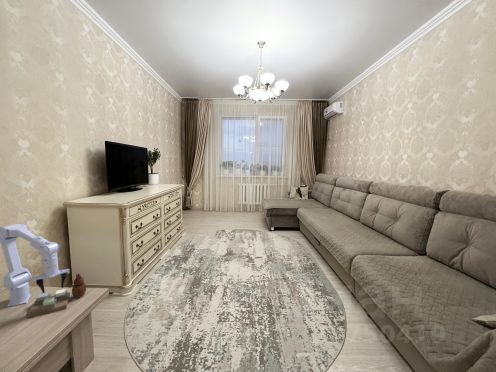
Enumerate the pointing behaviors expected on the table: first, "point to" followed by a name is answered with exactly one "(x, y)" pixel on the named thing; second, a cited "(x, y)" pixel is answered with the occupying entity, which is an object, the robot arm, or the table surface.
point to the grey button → (43, 296)
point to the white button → (60, 292)
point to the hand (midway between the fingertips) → (53, 289)
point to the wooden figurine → (78, 287)
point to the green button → (49, 301)
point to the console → (58, 305)
